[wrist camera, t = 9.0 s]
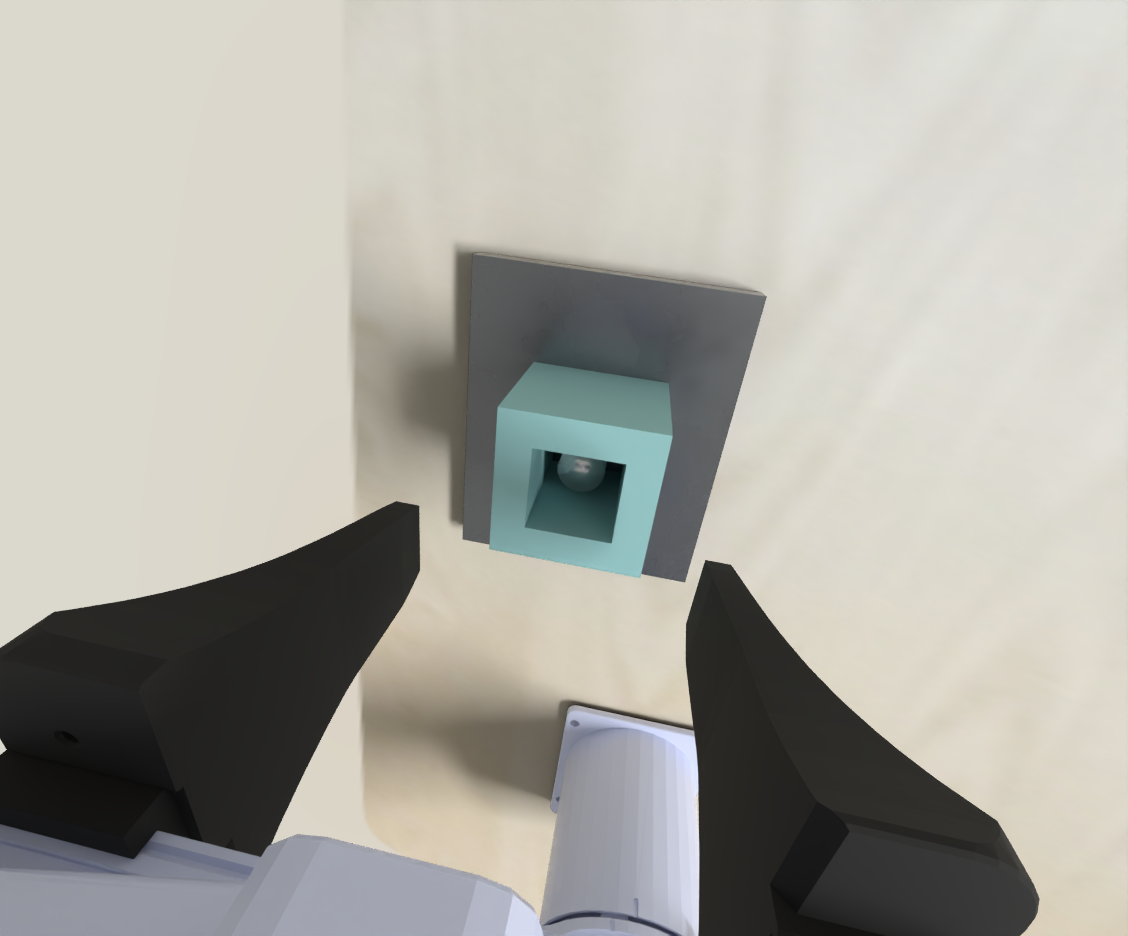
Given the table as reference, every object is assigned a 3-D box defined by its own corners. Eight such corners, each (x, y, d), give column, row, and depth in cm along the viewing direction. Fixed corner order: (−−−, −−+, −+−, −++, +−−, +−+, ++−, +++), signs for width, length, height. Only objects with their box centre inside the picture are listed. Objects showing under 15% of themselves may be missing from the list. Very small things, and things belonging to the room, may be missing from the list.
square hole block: (643, 500, 21) (640, 578, 17) (523, 479, 22) (489, 549, 17) (668, 383, 19) (672, 436, 14) (534, 361, 19) (497, 407, 15)
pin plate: (683, 568, 23) (689, 631, 20) (469, 527, 24) (437, 581, 21) (761, 292, 18) (787, 312, 14) (481, 252, 19) (440, 261, 15)
